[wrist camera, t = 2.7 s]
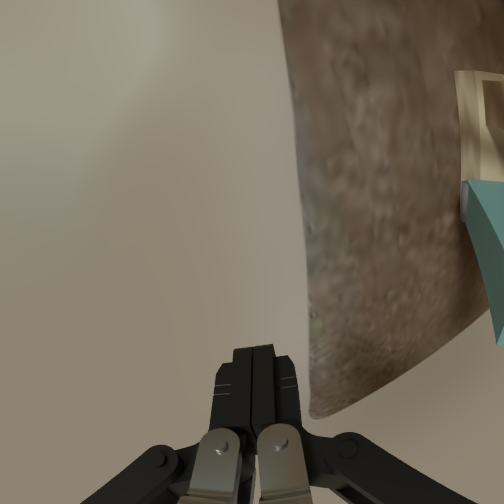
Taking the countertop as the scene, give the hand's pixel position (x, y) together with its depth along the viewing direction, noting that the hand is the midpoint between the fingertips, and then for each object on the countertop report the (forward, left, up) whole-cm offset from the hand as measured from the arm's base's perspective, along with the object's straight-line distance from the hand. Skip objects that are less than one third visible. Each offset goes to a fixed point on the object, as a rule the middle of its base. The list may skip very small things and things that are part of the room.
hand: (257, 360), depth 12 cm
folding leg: (0, +19, -12) cm, 22 cm away
